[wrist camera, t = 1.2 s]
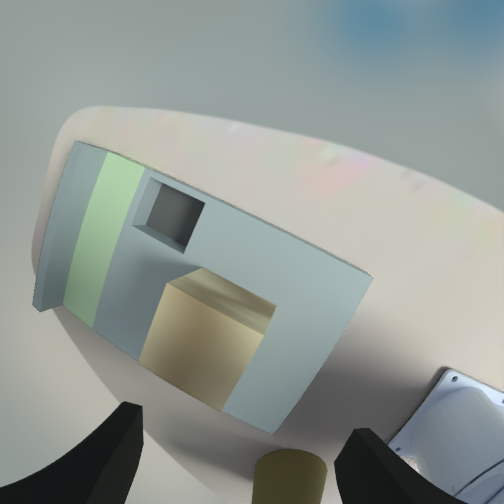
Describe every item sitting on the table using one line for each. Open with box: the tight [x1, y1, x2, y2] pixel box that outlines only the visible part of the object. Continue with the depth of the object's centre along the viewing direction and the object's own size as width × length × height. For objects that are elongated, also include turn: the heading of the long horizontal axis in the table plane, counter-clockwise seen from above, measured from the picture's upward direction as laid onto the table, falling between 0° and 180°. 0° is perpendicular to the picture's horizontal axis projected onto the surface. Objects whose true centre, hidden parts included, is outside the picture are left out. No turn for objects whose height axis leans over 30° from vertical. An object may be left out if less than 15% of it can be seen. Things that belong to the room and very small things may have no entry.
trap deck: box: [33, 140, 373, 435], centre depth 17 cm, size 19×12×4 cm, turn 64°
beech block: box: [138, 267, 277, 412], centre depth 15 cm, size 5×5×5 cm
